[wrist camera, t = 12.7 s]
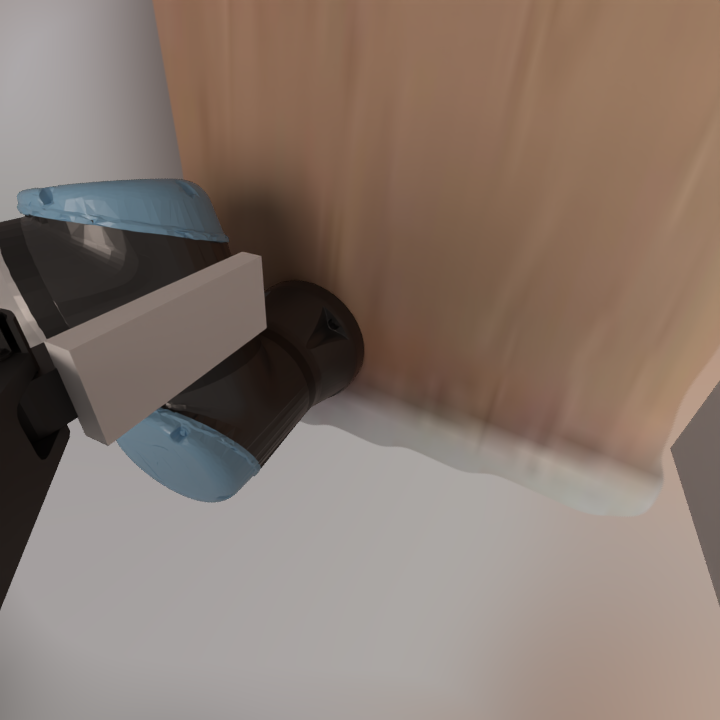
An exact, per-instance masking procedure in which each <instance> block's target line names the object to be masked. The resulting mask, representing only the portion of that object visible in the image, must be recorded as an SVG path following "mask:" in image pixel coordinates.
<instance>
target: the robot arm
mask: <svg viewBox="0 0 720 720" xmlns="http://www.w3.org/2000/svg"><path fill="white" fill-rule="evenodd" d="M17 199H18V206H17V208H18V210H19V212H20V213H23V214H25V217H22V218H17V219H13V220H8V221H4V222H0V609H1V606H2V604H3V601H4V599H5V596H6V594H7V592H8V589H9V586H10V584H11V581H12V579H13V577H14V574H15V571H16V569H17V567H18V564H19V562H20V559H21V557H22V554H23V552H24V549H25V546H26V544H27V542H28V539H29V537H30V534H31V532H32V529H33V527H34V524H35V522H36V519H37V517H38V514H39V512H40V510H41V507H42V504H43V502H44V500H45V497H46V495H47V492H48V490H49V487H50V485H51V482H52V480H53V477H54V475H55V472H56V470H57V467H58V464H59V462H60V460H61V457H62V455H63V452H64V450H65V447H66V445H67V442H68V440H69V437H70V436H69V435H70V430H69V428H68V426H67V424H68V423H69V422H71V421H73V420H74V419H76V418H77V417H78V419H79V421H80V424H81V426H82V428H83V430H84V433H85V435H86V436H88V437H90V438H92V439H94V440H97V441H99V442H101V443H103V444H106V445H107V446H109V445H110V444H111V443H113V442H114V441H115V440H116V441H117V443H118V444H119V446H120V447H121V449H122V450H123V451H124V452H125V453H126V455H127V456H128V457H129V458H130V459H131V460H132V461H133V462H134V463H135V464H136V465H137V466H138V467H140V468H141V469H142V470H143V471H144V472H146V473H147V474H148V475H150V476H151V477H152V478H153V479H155V480H156V481H158V482H159V483H161V484H162V485H164V486H166V487H167V488H169V489H171V490H173V491H175V492H176V493H179V494H181V495H183V496H186V497H188V498H191V499H194V500H198V501H203V502H220V501H224V500H226V499H229V498H231V497H232V496H233V495H235V494H236V493H237V492H238V491H239V490H240V489H241V488H242V487H243V486H244V485H245V484H246V483H247V482H248V480H250V478H251V477H252V476H255V475H256V474H257V473H258V472H259V470H260V469H261V468H262V466H263V465H264V464H265V463H266V462H267V460H268V459H269V457H271V455H272V454H273V453H274V451H275V450H276V449H277V448H278V447H279V445H280V444H281V443H282V442H283V441H284V439H285V438H286V437H287V435H288V434H289V433H290V432H291V430H292V429H293V428H294V427H295V426H296V424H297V423H298V422H299V421H300V420H301V418H302V417H303V416H304V415H305V413H306V412H307V411H308V410H309V409H310V408H311V407H312V406H314V405H316V404H317V403H319V402H321V401H323V400H325V399H327V398H329V397H332V396H334V395H336V394H338V393H340V392H341V391H342V390H344V389H345V388H346V387H347V386H348V385H349V384H350V383H351V381H352V380H353V379H354V377H355V376H356V375H357V373H358V372H359V370H360V367H361V365H362V361H363V353H364V349H363V341H362V336H361V333H360V330H359V327H358V325H357V323H356V321H355V319H354V318H353V316H352V315H351V313H350V312H349V310H348V309H347V308H346V307H345V305H344V304H343V303H342V302H341V301H340V300H339V299H338V298H336V297H335V296H334V295H333V294H331V293H330V292H328V291H327V290H325V289H323V288H321V287H319V286H317V285H315V284H312V283H308V282H304V281H286V282H282V283H279V284H277V285H275V286H273V287H272V288H270V289H269V290H267V291H265V292H264V285H263V271H262V258H261V256H259V255H255V254H250V253H246V252H240V253H238V254H236V255H234V256H231V253H230V250H229V247H228V244H227V242H229V238H228V236H226V235H225V234H224V232H223V230H222V228H221V225H220V223H219V220H218V218H217V215H216V213H215V210H214V208H213V206H212V203H211V201H210V199H209V197H208V195H207V194H206V192H205V191H204V190H203V189H202V188H201V187H200V186H198V185H197V184H195V183H193V182H190V181H187V180H183V179H138V180H137V179H136V180H117V181H102V182H89V183H78V184H67V185H58V186H53V187H46V188H32V189H27V190H23V191H21V192H19V193H18V195H17ZM671 452H672V455H673V458H674V461H675V465H676V468H677V471H678V474H679V477H680V481H681V484H682V487H683V490H684V493H685V497H686V500H687V503H688V506H689V510H690V513H691V516H692V519H693V522H694V526H695V529H696V532H697V535H698V538H699V541H700V545H701V548H702V551H703V554H704V557H705V561H706V564H707V567H708V570H709V573H710V576H711V580H712V583H713V586H714V589H715V592H716V596H717V599H718V602H719V605H720V381H719V382H718V384H717V385H716V386H715V388H714V389H713V391H712V392H711V393H710V395H709V396H708V397H707V399H706V400H705V402H704V403H703V404H702V406H701V407H700V408H699V410H698V411H697V413H696V414H695V415H694V417H693V418H692V419H691V421H690V422H689V424H688V425H687V426H686V428H685V429H684V431H683V432H682V433H681V435H680V436H679V438H678V439H677V440H676V441H675V443H674V444H673V446H672V447H671Z"/></svg>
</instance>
